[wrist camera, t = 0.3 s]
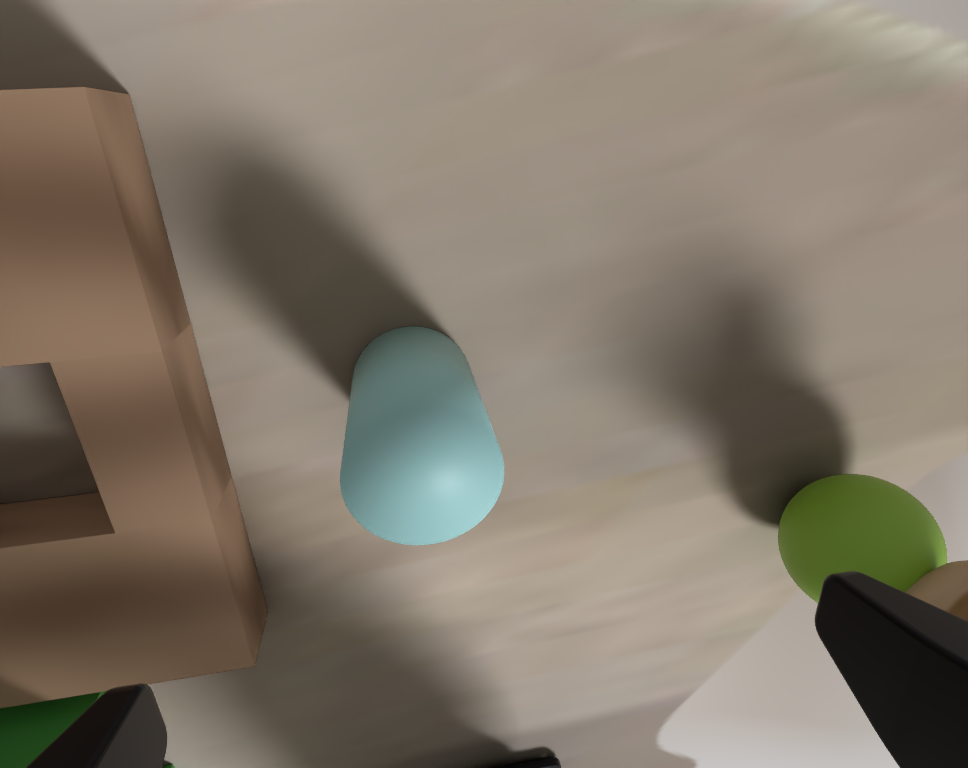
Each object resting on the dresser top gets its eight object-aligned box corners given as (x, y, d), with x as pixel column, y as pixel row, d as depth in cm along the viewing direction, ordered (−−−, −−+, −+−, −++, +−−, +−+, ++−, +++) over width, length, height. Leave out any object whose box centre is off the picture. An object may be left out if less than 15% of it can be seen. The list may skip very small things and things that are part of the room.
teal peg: (473, 427, 20) (506, 533, 15) (361, 441, 20) (352, 555, 14) (467, 320, 19) (501, 396, 13) (344, 332, 18) (327, 415, 13)
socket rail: (267, 612, 22) (254, 666, 20) (-45, 660, 21) (-98, 724, 18) (129, 94, 15) (84, 87, 13) (-367, 113, 13) (-520, 109, 11)
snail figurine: (709, 538, 24) (971, 861, 14) (819, 426, 23) (1212, 687, 12) (784, 586, 26) (1066, 903, 15) (890, 486, 25) (1283, 757, 14)
